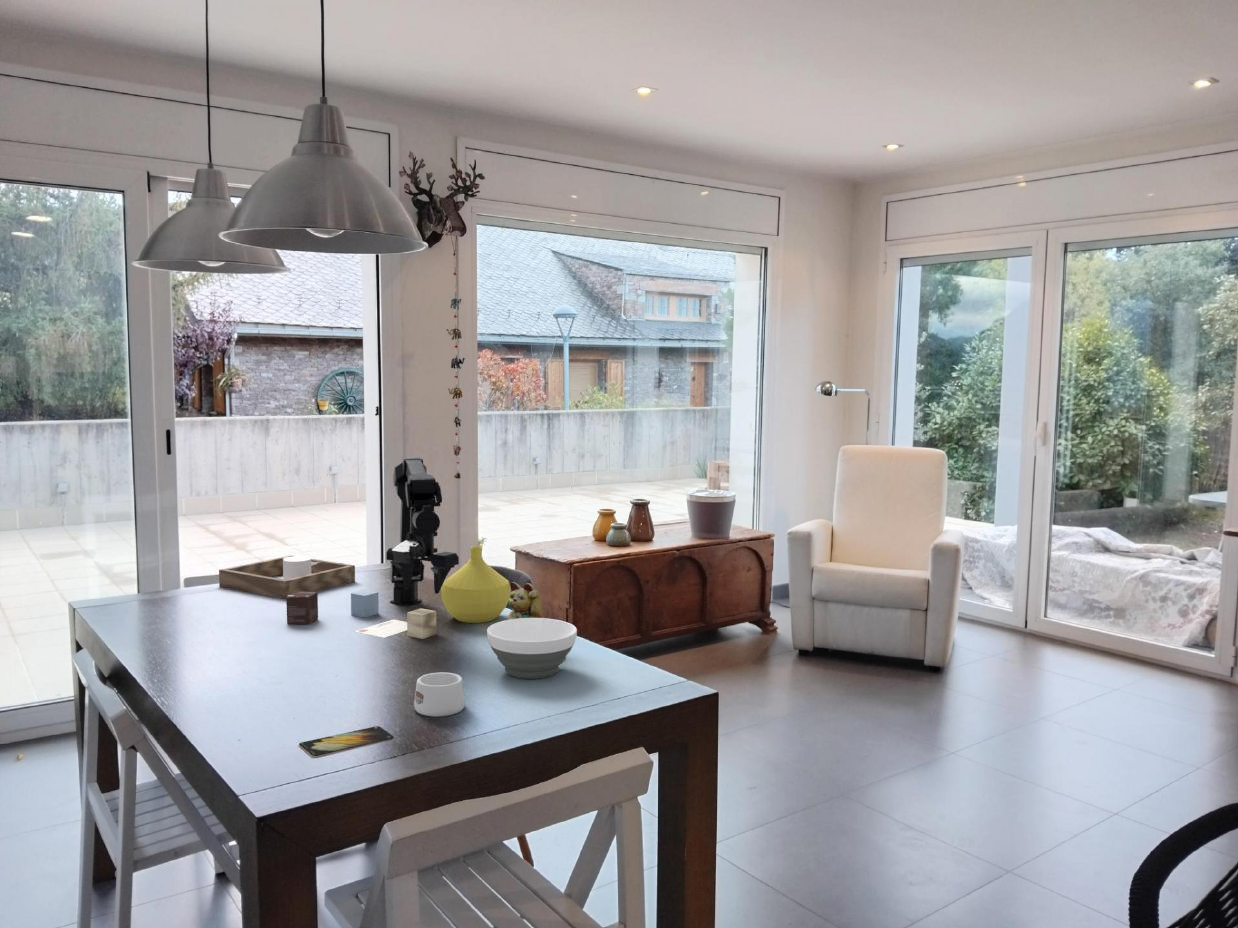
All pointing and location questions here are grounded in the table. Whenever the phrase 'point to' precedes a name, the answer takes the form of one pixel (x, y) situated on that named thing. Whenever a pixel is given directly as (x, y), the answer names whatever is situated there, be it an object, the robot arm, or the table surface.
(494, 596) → the vase
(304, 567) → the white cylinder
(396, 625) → the letter
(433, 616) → the block
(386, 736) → the smartphone
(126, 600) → the table surface
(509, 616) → the decorative figurine
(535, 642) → the bowl
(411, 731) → the table surface
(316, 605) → the box
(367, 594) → the cube
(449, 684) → the mug
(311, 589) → the wooden tray
